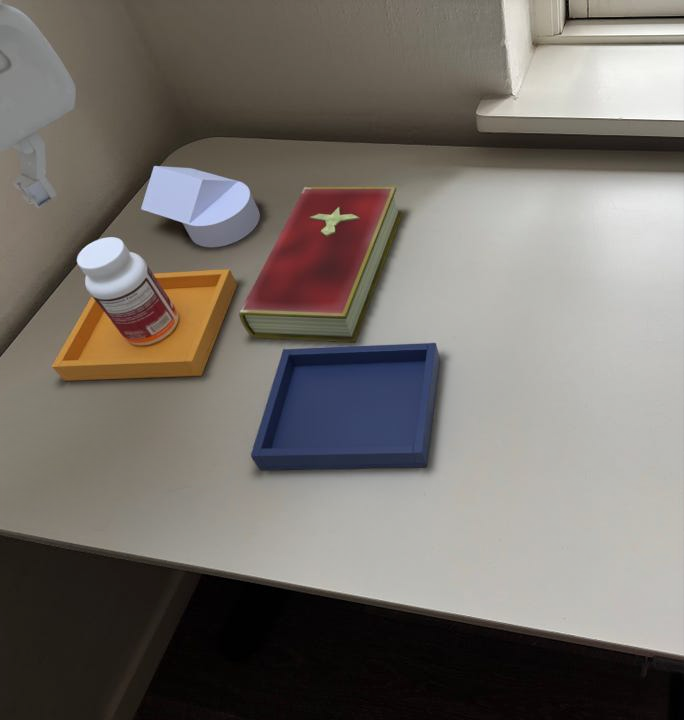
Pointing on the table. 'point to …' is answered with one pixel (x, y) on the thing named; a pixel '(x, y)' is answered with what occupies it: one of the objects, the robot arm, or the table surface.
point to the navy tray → (349, 408)
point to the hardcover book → (324, 265)
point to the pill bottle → (127, 291)
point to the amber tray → (161, 359)
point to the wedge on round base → (202, 204)
